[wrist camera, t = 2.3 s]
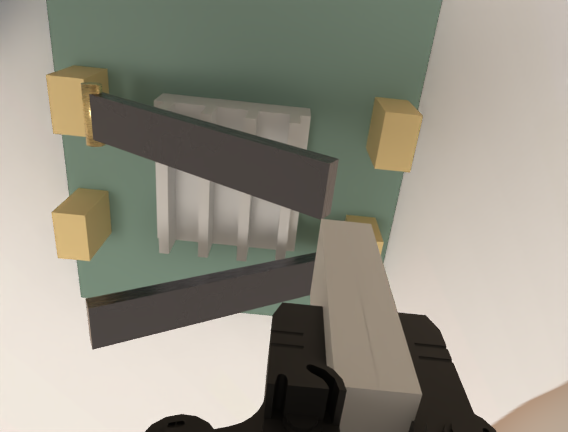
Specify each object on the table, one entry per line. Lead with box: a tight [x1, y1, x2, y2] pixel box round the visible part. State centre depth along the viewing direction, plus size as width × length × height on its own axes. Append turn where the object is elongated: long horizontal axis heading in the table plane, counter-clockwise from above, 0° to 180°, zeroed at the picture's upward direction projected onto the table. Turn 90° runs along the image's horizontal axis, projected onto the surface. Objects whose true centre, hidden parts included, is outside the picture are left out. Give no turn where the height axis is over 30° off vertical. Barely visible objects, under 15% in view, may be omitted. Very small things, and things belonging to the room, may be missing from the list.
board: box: [46, 0, 442, 316], centre depth 29 cm, size 23×22×5 cm
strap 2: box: [86, 252, 316, 349], centre depth 25 cm, size 3×14×1 cm
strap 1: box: [81, 82, 339, 220], centre depth 22 cm, size 3×14×1 cm, turn 84°
